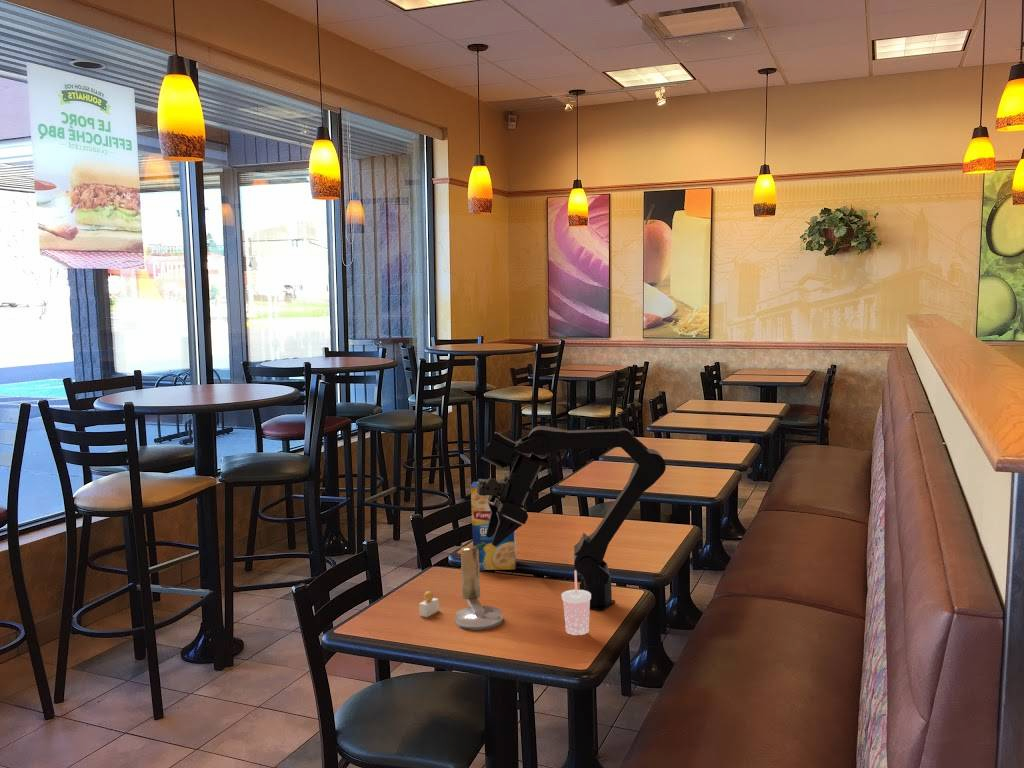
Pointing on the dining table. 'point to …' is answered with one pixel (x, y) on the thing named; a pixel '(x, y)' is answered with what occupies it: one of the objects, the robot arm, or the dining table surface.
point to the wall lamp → (474, 595)
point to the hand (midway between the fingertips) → (490, 541)
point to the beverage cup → (576, 610)
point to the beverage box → (488, 553)
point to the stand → (428, 605)
